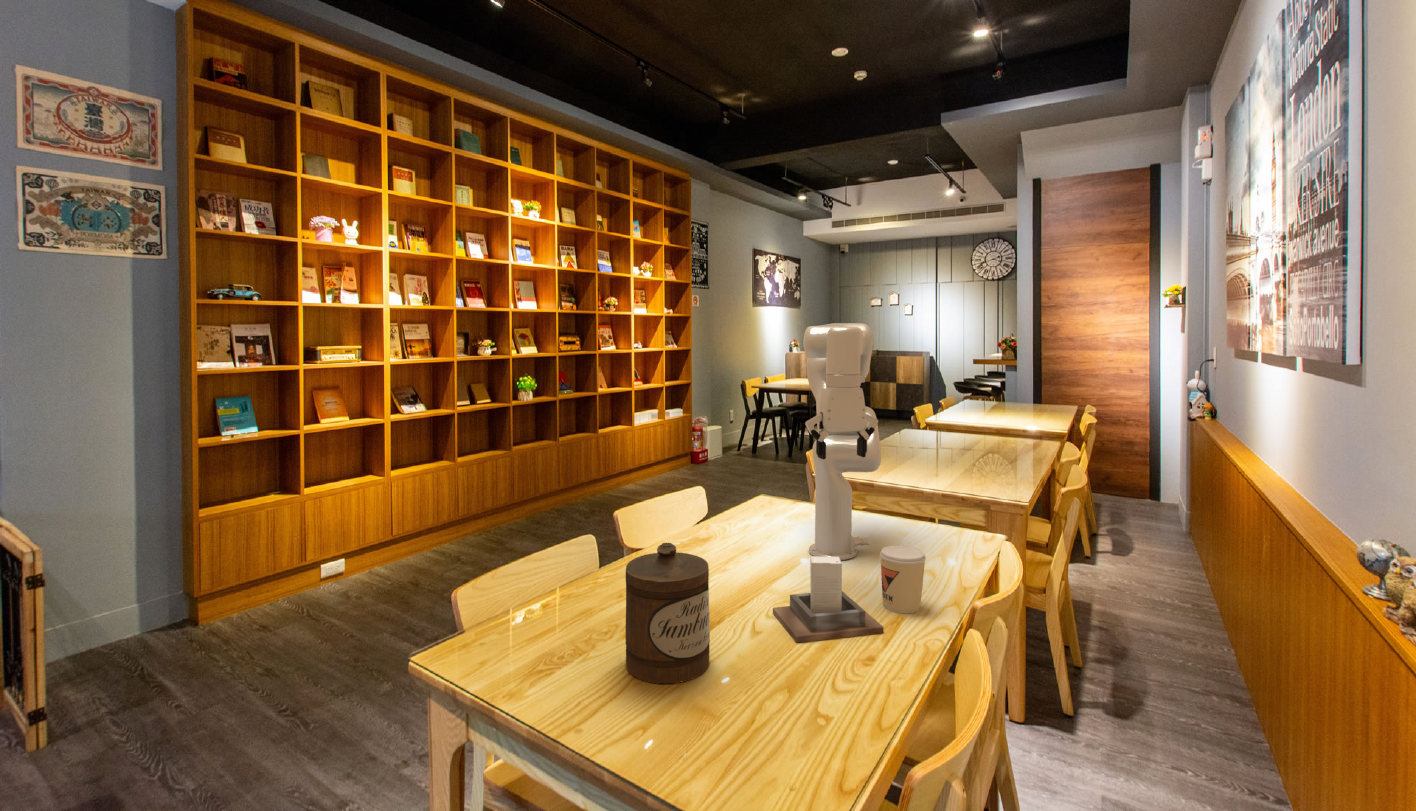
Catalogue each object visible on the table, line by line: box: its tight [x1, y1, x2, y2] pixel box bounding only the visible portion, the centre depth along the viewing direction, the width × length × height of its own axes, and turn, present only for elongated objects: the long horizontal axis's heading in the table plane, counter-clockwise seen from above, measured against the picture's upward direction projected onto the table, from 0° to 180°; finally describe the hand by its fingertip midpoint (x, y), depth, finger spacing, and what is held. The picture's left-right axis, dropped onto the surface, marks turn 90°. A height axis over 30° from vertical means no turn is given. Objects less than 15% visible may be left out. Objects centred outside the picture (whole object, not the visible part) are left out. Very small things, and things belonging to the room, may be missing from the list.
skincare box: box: [809, 555, 843, 614], centre depth 136 cm, size 6×4×12 cm
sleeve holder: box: [772, 590, 885, 644], centre depth 136 cm, size 18×14×4 cm
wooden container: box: [625, 542, 711, 684], centre depth 119 cm, size 15×15×22 cm
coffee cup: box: [879, 545, 927, 614], centre depth 144 cm, size 9×9×12 cm
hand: (841, 457), depth 153 cm, fingers open, 9 cm apart
